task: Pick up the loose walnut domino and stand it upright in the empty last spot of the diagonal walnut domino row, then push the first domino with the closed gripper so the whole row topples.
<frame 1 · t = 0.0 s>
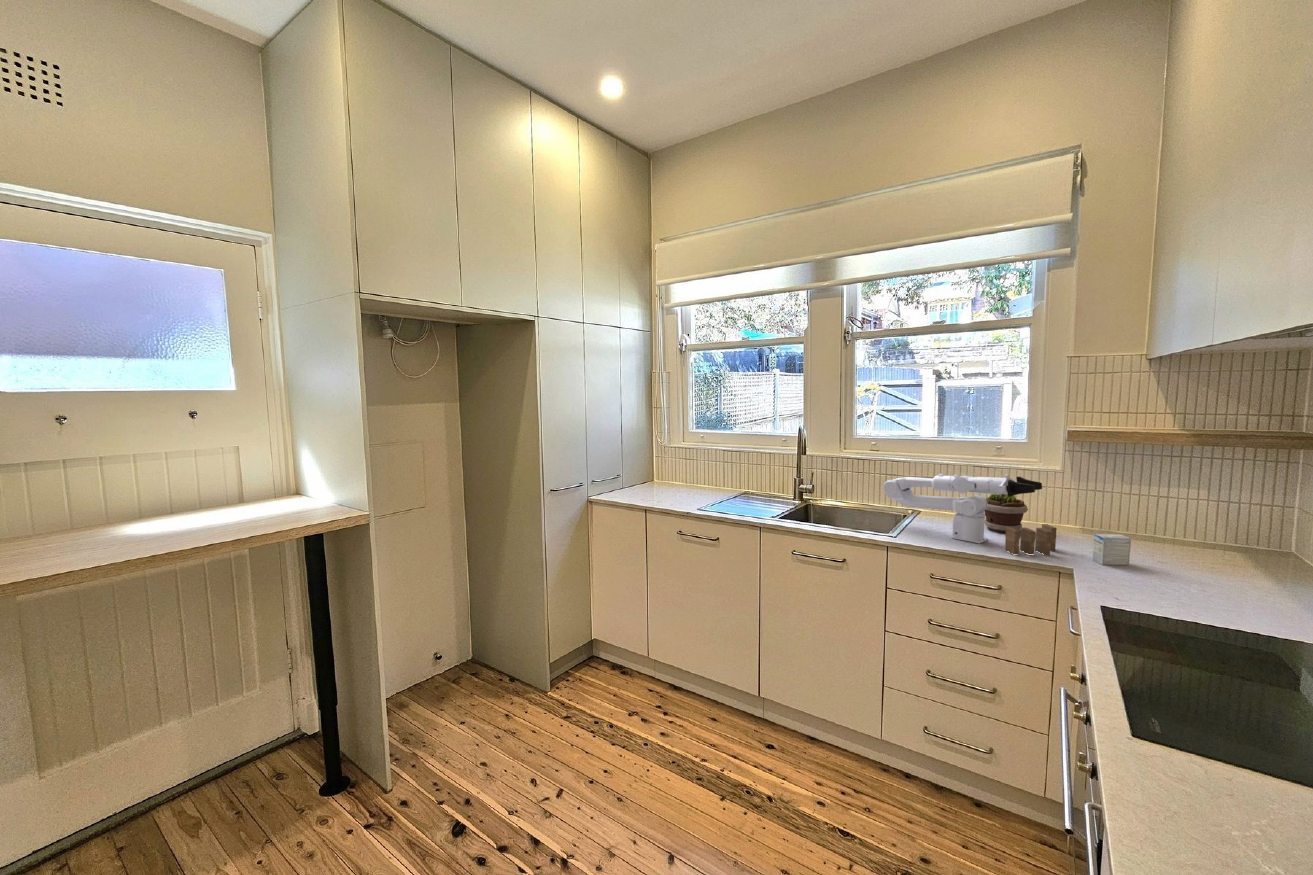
hand: (1038, 487, 176), 22 cm above the countertop, tool horizontal, fingers open, 7 cm apart
first domino: (1011, 552, 177), on the countertop
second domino: (1026, 553, 176), on the countertop
medicine box: (1110, 563, 166), on the countertop
flowerpot: (1002, 530, 204), on the countertop
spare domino: (1047, 549, 181), on the countertop
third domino: (1042, 553, 176), on the countertop
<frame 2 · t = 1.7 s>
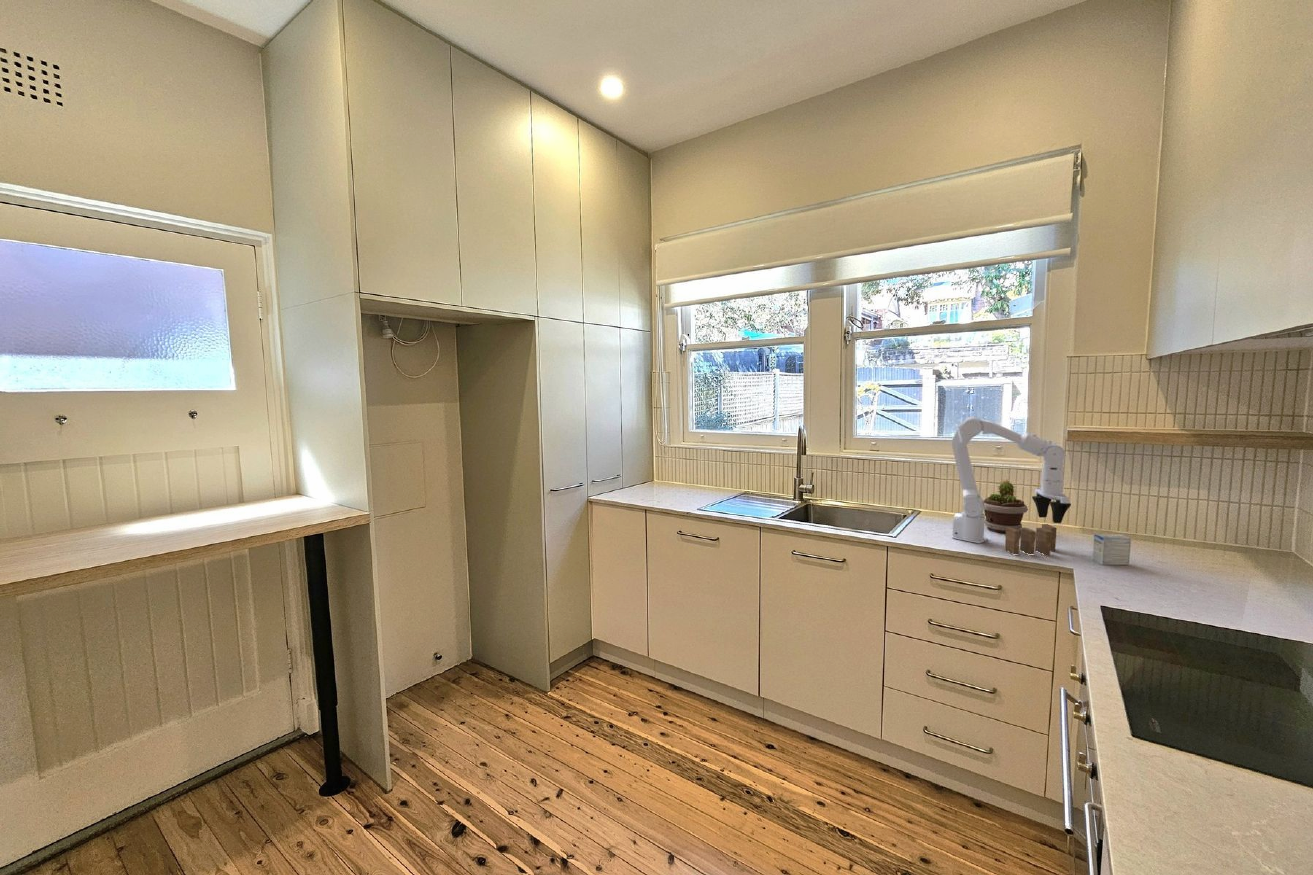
hand: (1049, 520, 180), 10 cm above the countertop, tool pointing down, fingers open, 7 cm apart
nothing on the countertop moved.
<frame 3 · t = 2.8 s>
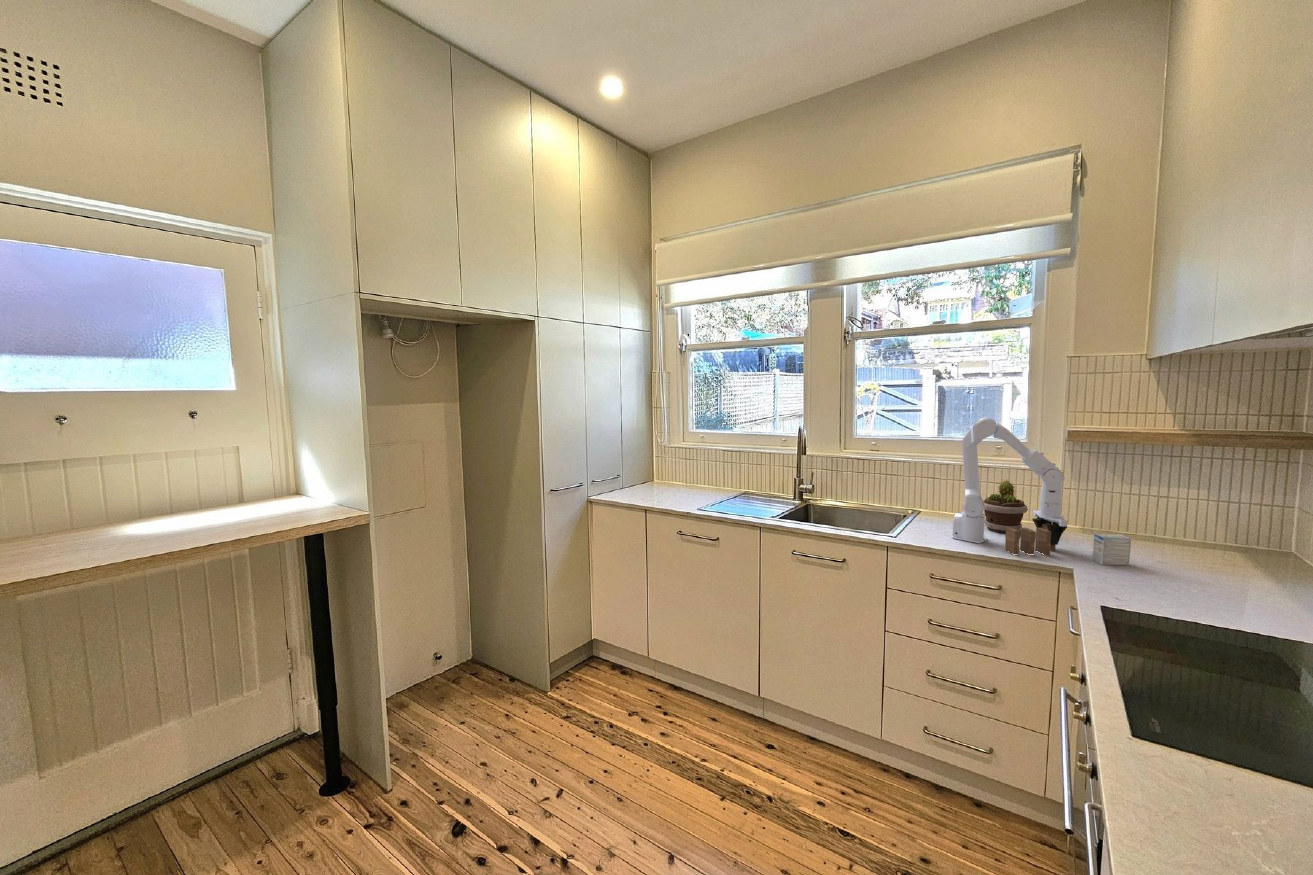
hand: (1048, 541, 180), 2 cm above the countertop, tool pointing down, fingers closed on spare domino, 5 cm apart
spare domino: (1047, 549, 181), on the countertop, touching gripper
everything else where it was.
when the fingers open (3 cm above the countertop, at t = 7.1 s): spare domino stays where it is, on the countertop.
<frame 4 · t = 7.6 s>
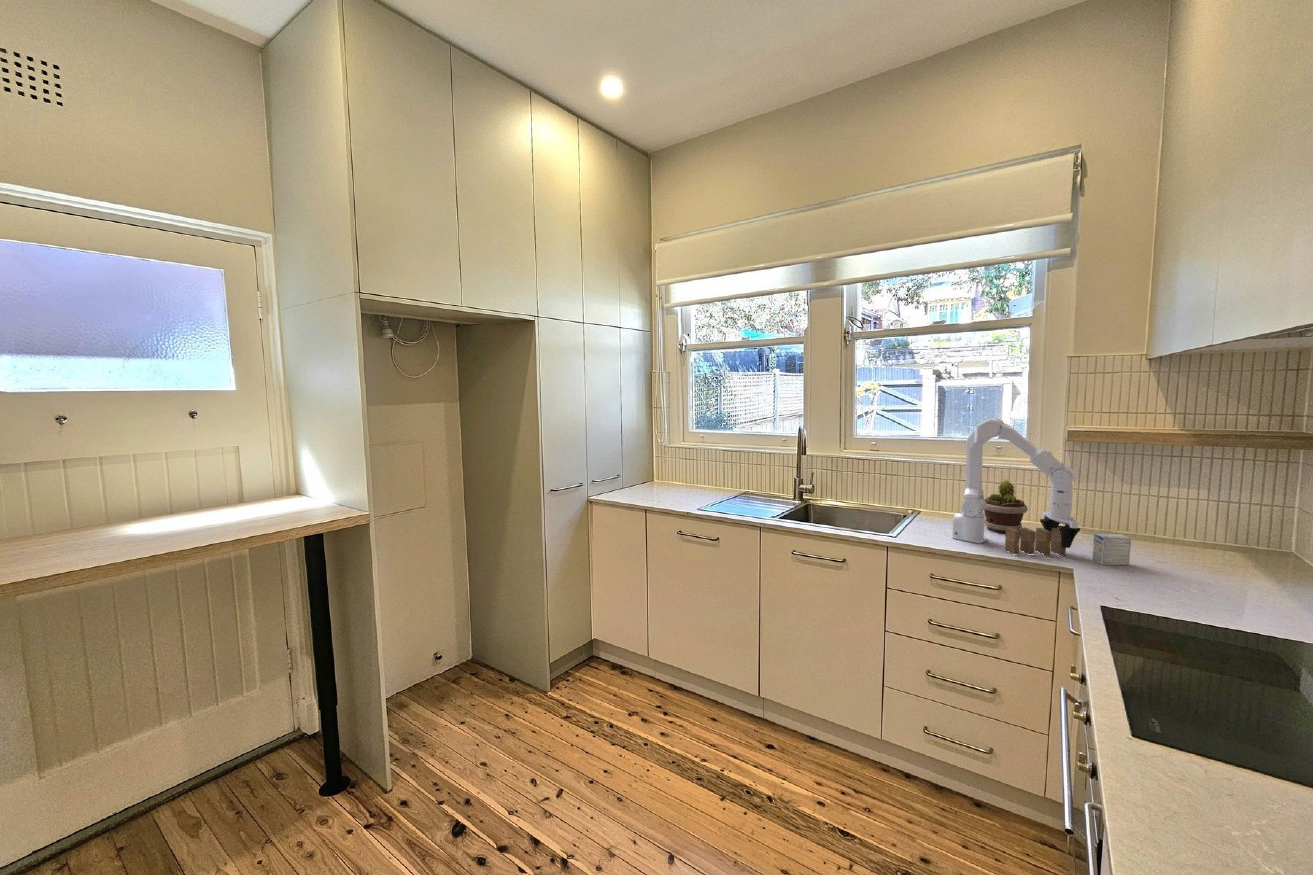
hand: (1058, 544, 175), 3 cm above the countertop, tool pointing down, fingers open, 7 cm apart
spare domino: (1057, 553, 176), on the countertop
everything else where it was.
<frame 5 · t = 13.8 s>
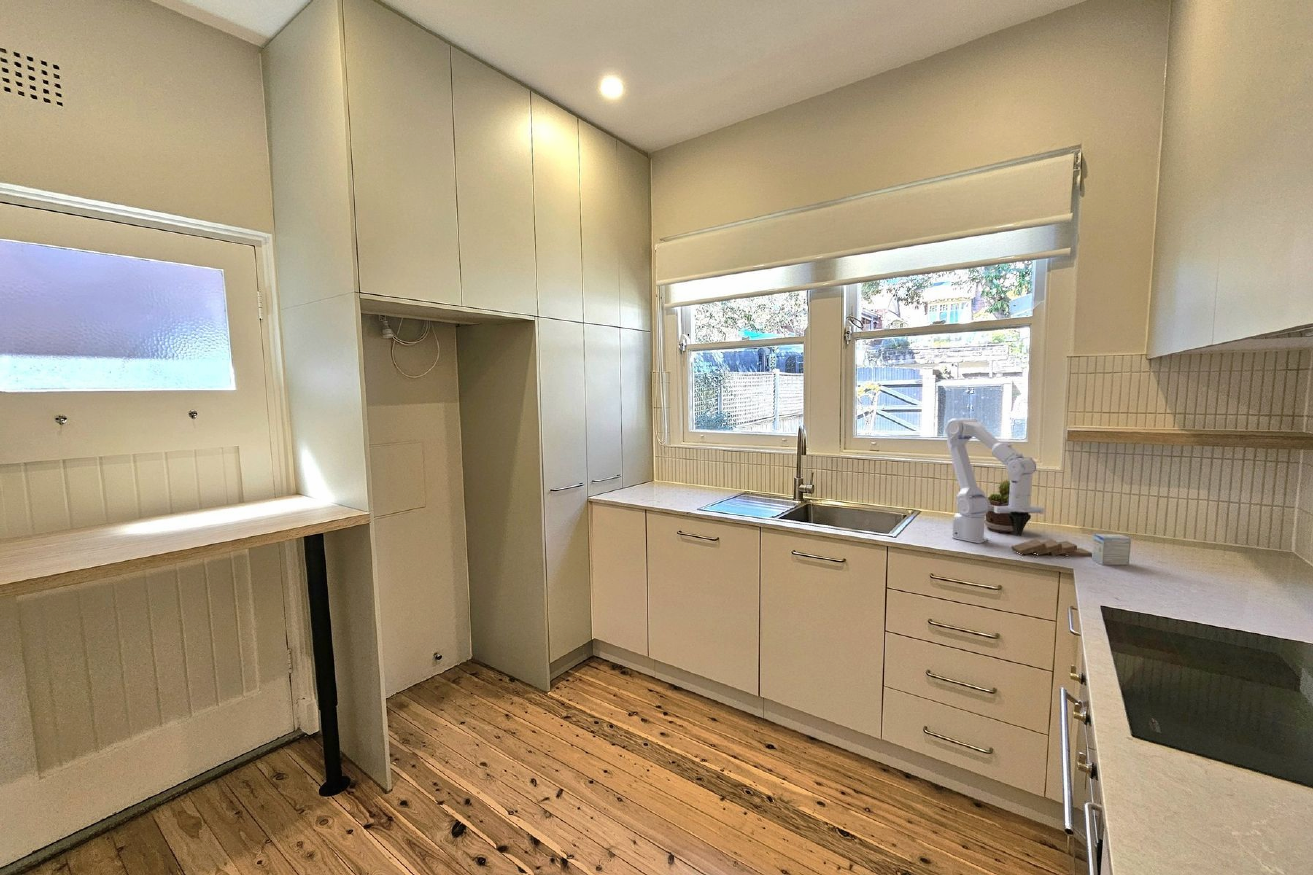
hand: (1017, 534, 176), 6 cm above the countertop, tool pointing down, fingers closed
first domino: (1016, 550, 177), point 1 cm above the countertop, tilted 71°, touching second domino
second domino: (1032, 551, 176), point 1 cm above the countertop, tilted 70°, touching first domino, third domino
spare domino: (1060, 552, 176), on the countertop, tilted 90°, touching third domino
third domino: (1046, 551, 176), point 1 cm above the countertop, tilted 74°, touching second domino, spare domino
everything else where it was.
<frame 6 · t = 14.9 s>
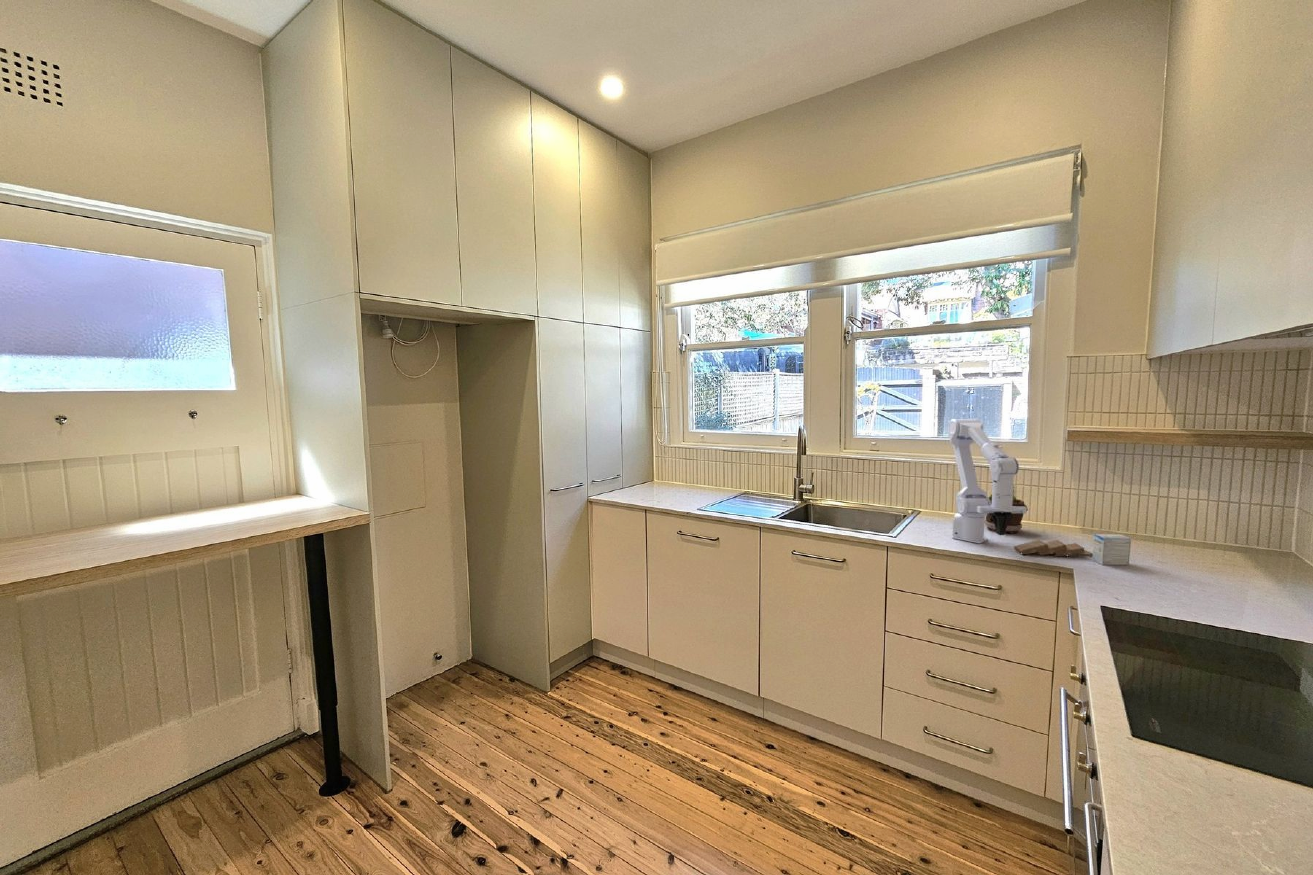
hand: (1000, 534, 177), 6 cm above the countertop, tool pointing down, fingers closed
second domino: (1035, 551, 176), point 1 cm above the countertop, tilted 71°, touching first domino, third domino
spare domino: (1062, 553, 175), on the countertop, tilted 90°
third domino: (1052, 551, 175), point 1 cm above the countertop, tilted 77°, touching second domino
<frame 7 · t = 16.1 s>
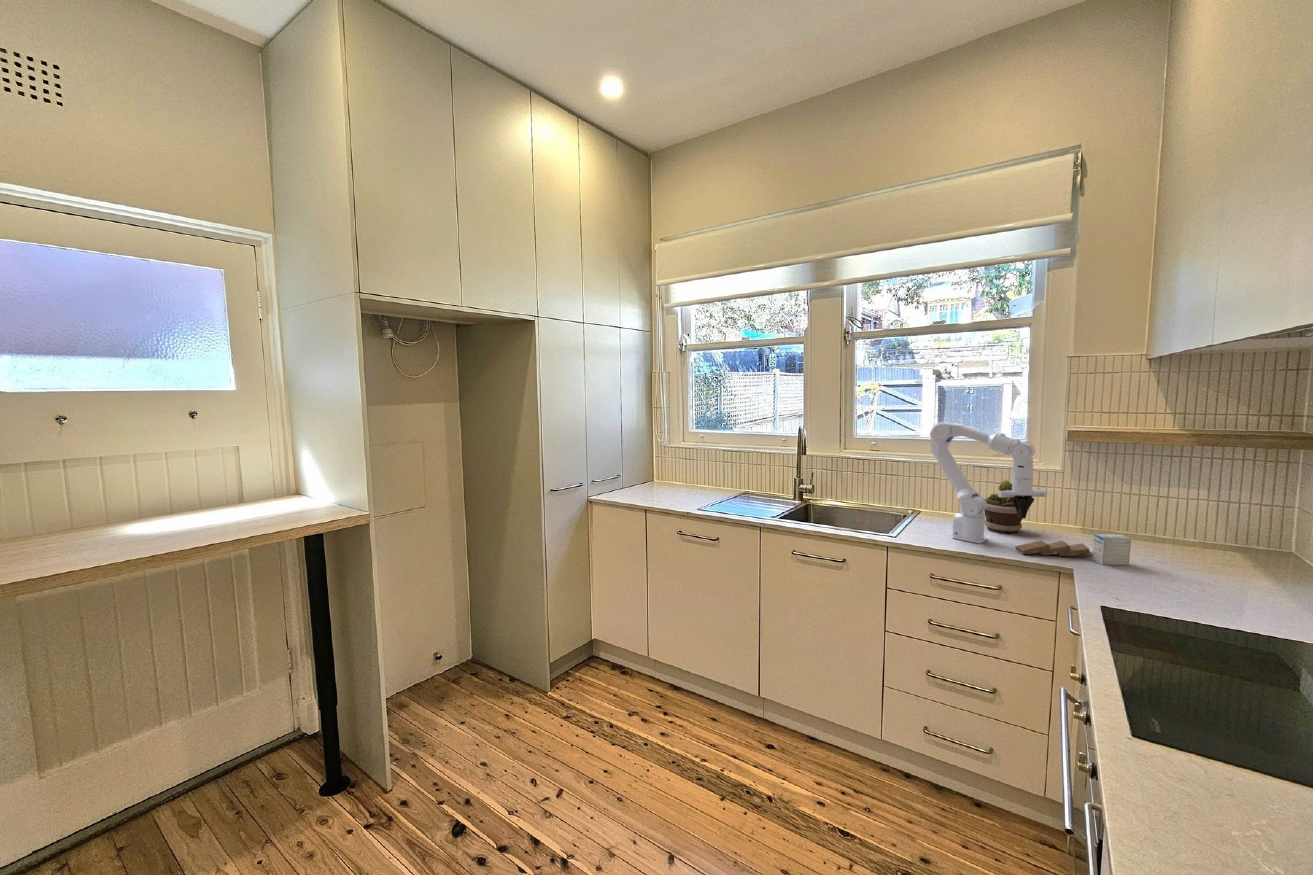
hand: (1021, 517, 181), 10 cm above the countertop, tool pointing down, fingers closed
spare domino: (1064, 553, 175), on the countertop, tilted 90°, touching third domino
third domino: (1057, 551, 175), point 1 cm above the countertop, tilted 76°, touching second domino, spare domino
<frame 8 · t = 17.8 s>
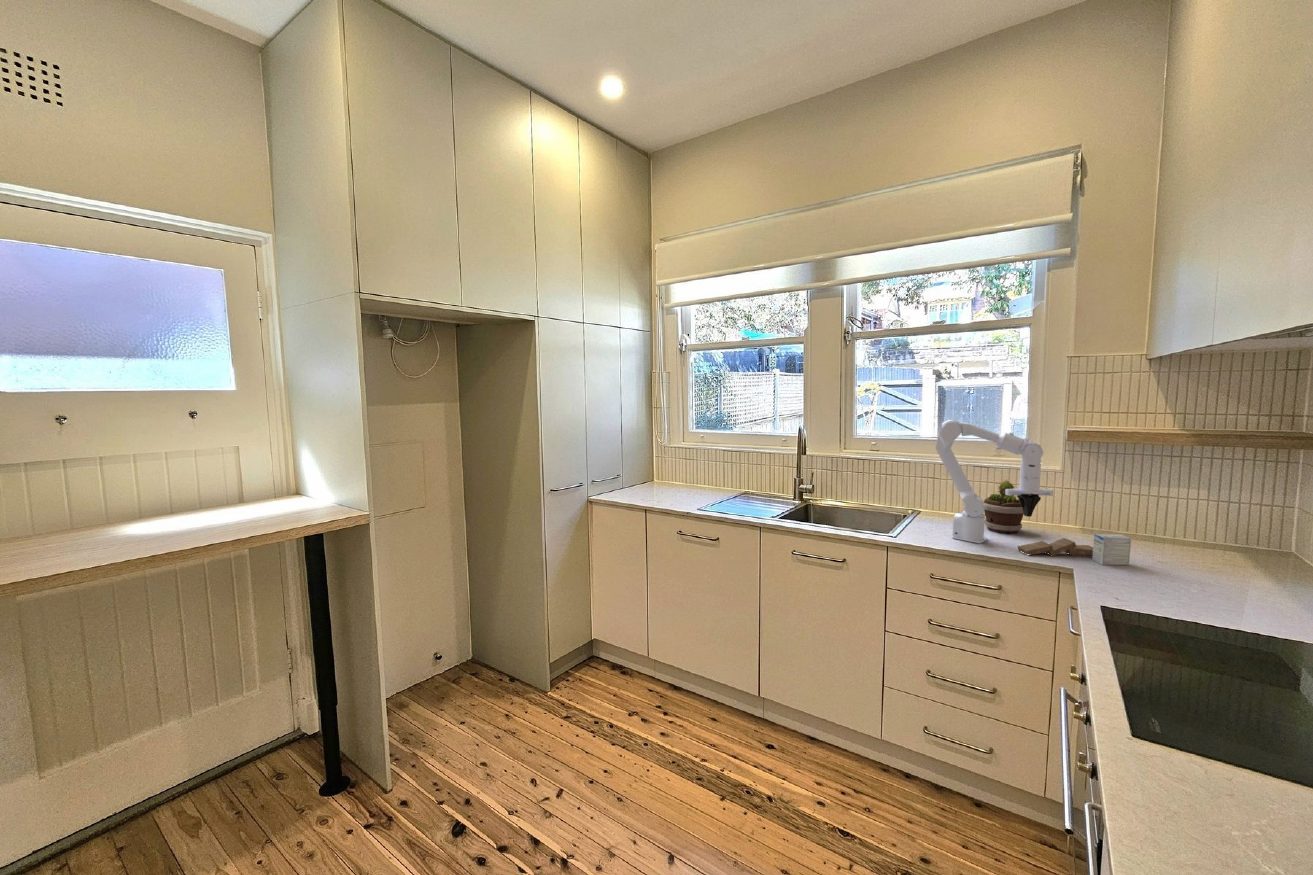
hand: (1027, 515, 184), 10 cm above the countertop, tool pointing down, fingers closed
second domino: (1046, 551, 175), point 1 cm above the countertop, tilted 65°, touching first domino
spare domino: (1067, 553, 175), on the countertop, tilted 90°
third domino: (1065, 548, 175), point 2 cm above the countertop, tilted 90°
at the end: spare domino inside the target area (2.8 cm from its centre), on the countertop; first domino tilted 76°; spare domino tilted 90° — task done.
